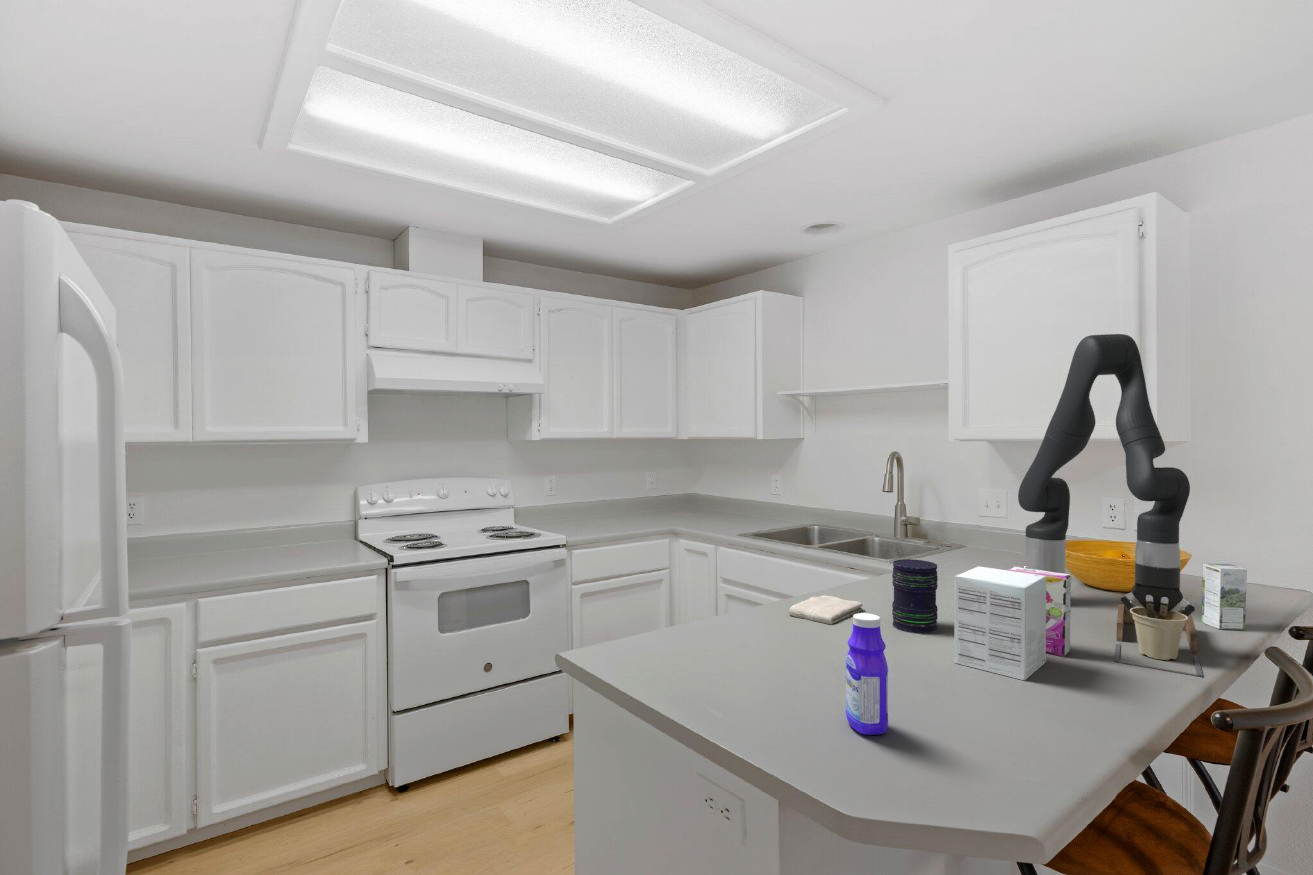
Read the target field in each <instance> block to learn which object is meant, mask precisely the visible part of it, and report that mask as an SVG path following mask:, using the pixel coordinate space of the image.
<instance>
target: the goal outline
mask: <svg viewBox="0 0 1313 875" xmlns="http://www.w3.org/2000/svg"><path fill="white" fill-rule="evenodd" d="M1120 655H1121V644H1120V643H1115V650H1114V658H1113V662H1115V663H1119V664H1123V665H1124V664H1125V665H1131V666H1137V667H1142V668H1147V669H1154V670H1158V671H1165V672H1171V673H1176V674H1182V675H1188V676H1191V677H1192V676H1193V677H1200V678H1204V674H1203V671H1202V667H1201V664H1200V663H1201V662H1200V658H1199V656H1196V655H1193V656H1192V658H1193V662H1194V666H1195V671H1196V673H1191V672H1187V671H1181V670H1174V669H1170V668H1169V669H1168V668H1165V667H1163V668H1162V667H1159V666H1158V667H1157V666H1153V665H1152V666H1151V665H1147V664H1140V663H1136V662H1135V663H1134V662H1128V661H1124V660H1123V661H1122V660H1120V657H1121V656H1120Z"/></svg>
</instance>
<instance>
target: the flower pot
mask: <svg viewBox="0 0 1313 875" xmlns="http://www.w3.org/2000/svg"><path fill="white" fill-rule="evenodd" d="M1175 611H1176V610H1171V611H1168V612H1167V617H1166V620H1161V619H1159V612H1160V611H1157V610H1155V611H1154V618H1155V619H1154V618H1149V617H1147V609H1146V608H1144V607H1143V606H1138V607H1134V608H1131V609H1130V612H1131V613H1132V616H1133V619H1134V621H1135V624H1134V627H1135V633H1136V642H1137V645H1138V646H1137V647H1138V652H1139V654H1141V655H1142V656H1143V655H1146V656H1147V657H1149V658H1151V659H1154V660H1156V659H1157V660H1162V661H1163V660H1164V661H1169V660H1176V659H1178V654H1179V649H1180V643H1181V639H1182V633H1183V631H1182V630H1183V627H1184V626H1185V622H1186V621H1187V620H1188V617H1187V616H1186V615H1184V614H1181V613H1179V612H1178V611H1176V612H1175Z"/></svg>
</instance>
